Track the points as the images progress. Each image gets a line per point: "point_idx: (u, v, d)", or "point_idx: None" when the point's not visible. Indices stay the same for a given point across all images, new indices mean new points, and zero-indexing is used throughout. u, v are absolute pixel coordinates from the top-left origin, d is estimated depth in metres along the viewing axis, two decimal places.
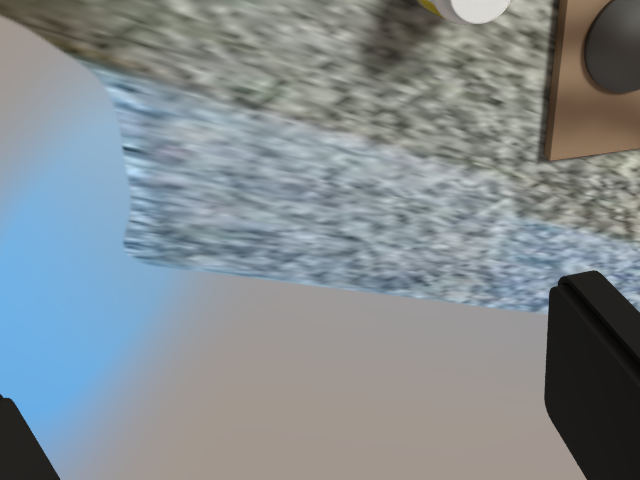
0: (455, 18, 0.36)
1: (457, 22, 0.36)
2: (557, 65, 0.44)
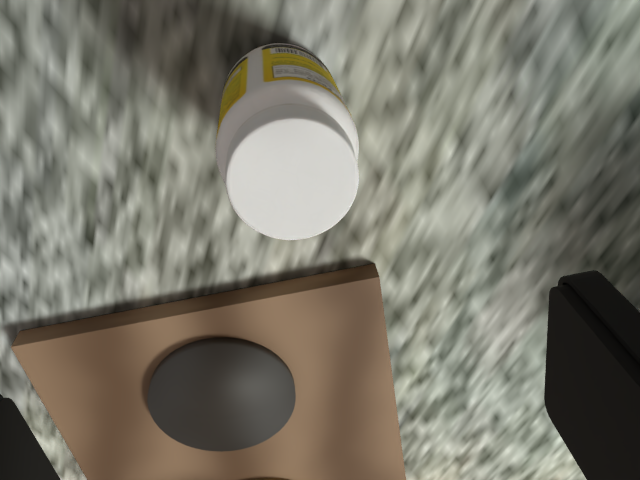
0: (226, 141, 0.18)
1: (218, 146, 0.18)
2: (169, 310, 0.28)
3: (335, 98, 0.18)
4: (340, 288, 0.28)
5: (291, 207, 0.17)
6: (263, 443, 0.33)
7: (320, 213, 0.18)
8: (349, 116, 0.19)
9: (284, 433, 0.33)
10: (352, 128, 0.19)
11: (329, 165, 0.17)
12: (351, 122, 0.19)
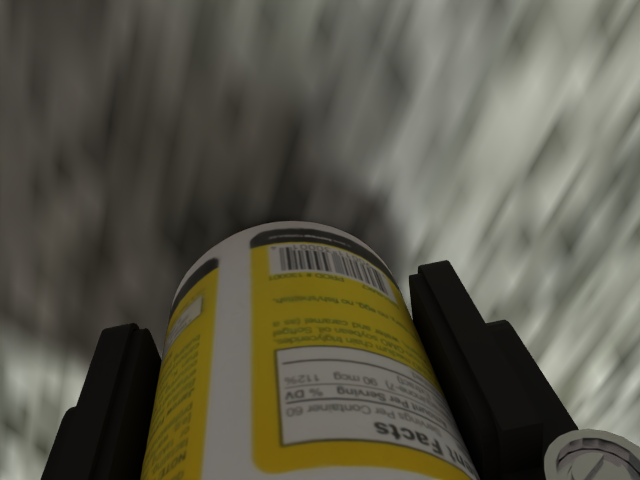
0: None
1: None
2: None
3: None
4: None
5: None
6: None
7: None
8: None
9: None
10: None
11: None
12: None
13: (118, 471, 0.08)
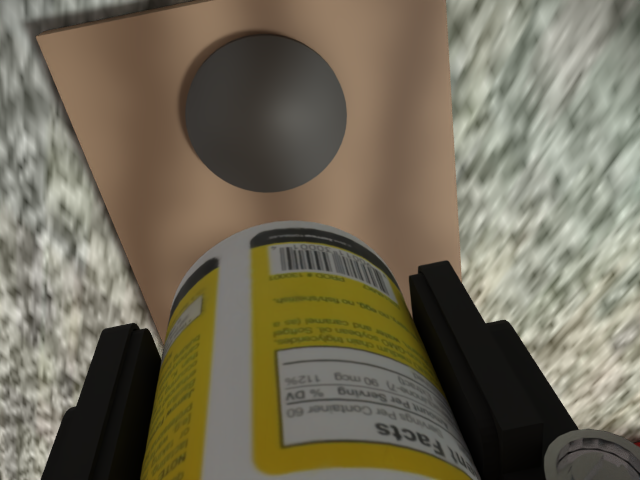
0: None
1: None
2: None
3: None
4: None
5: None
6: (308, 190, 0.30)
7: None
8: None
9: (331, 177, 0.30)
10: None
11: None
12: None
13: (118, 470, 0.08)
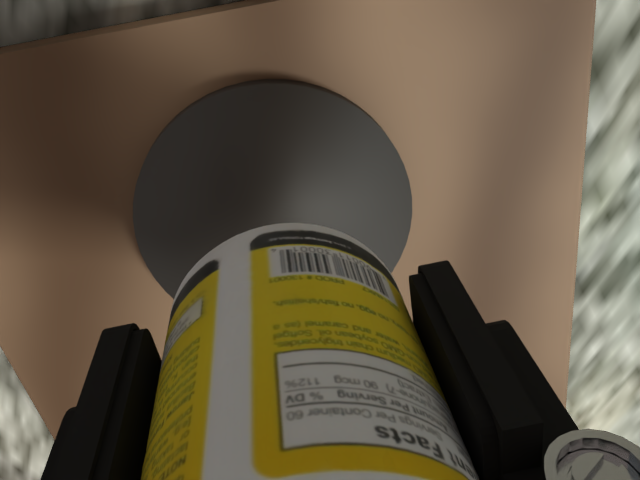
0: None
1: None
2: (176, 17, 0.14)
3: None
4: None
5: None
6: None
7: None
8: None
9: None
10: None
11: None
12: None
13: (118, 471, 0.08)
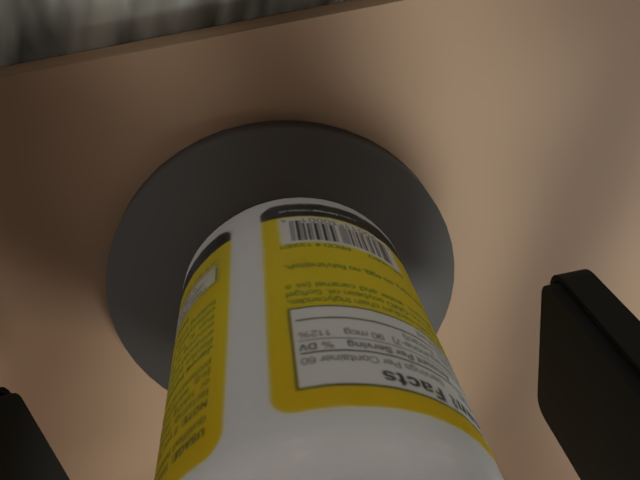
0: None
1: None
2: (158, 42, 0.11)
3: (465, 443, 0.07)
4: None
5: None
6: None
7: None
8: (498, 479, 0.07)
9: None
10: None
11: None
12: None
13: None
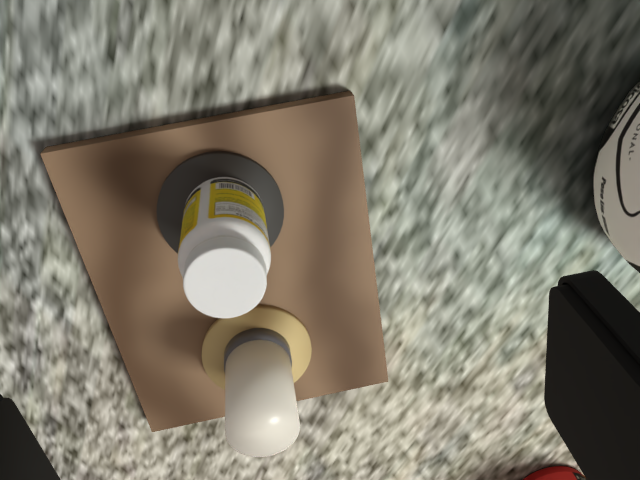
0: (184, 255, 0.29)
1: (179, 258, 0.29)
2: (177, 125, 0.33)
3: (253, 227, 0.29)
4: (321, 105, 0.33)
5: (224, 298, 0.28)
6: None
7: (243, 302, 0.28)
8: (263, 238, 0.29)
9: (273, 256, 0.37)
10: (265, 245, 0.29)
11: (247, 274, 0.27)
12: (264, 241, 0.29)
13: None
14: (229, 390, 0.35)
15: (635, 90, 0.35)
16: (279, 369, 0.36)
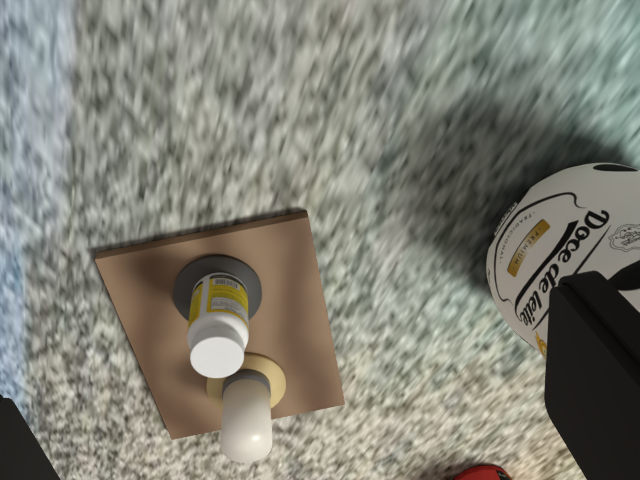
0: (191, 336, 0.44)
1: (188, 338, 0.44)
2: (186, 238, 0.48)
3: (236, 318, 0.44)
4: (286, 224, 0.48)
5: (216, 366, 0.43)
6: None
7: (229, 368, 0.43)
8: (242, 324, 0.44)
9: (256, 320, 0.53)
10: (244, 329, 0.44)
11: (231, 351, 0.43)
12: (243, 327, 0.44)
13: None
14: (224, 417, 0.51)
15: (509, 210, 0.49)
16: (259, 401, 0.52)
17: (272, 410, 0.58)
